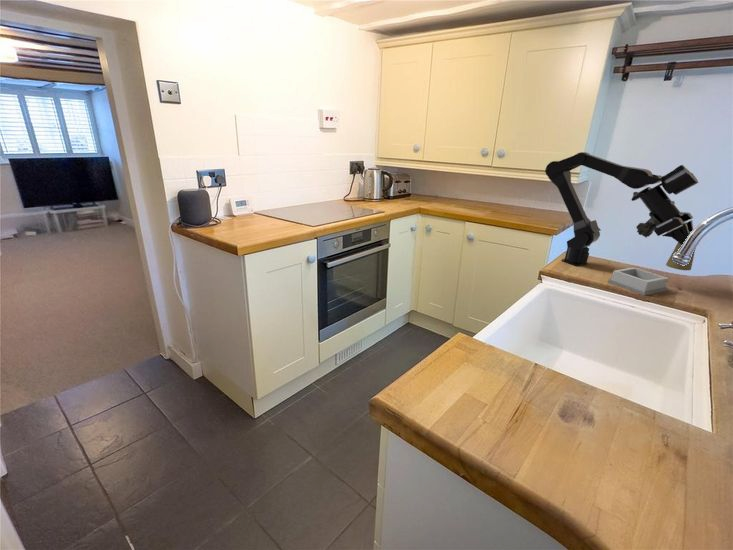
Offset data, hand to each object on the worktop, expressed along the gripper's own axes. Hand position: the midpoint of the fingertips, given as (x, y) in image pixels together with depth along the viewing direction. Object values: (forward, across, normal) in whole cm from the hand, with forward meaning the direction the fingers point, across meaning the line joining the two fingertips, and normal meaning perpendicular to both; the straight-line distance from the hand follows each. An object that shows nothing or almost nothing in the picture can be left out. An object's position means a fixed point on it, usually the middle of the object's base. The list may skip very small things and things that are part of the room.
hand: (692, 247), depth 105 cm
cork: (+4, 0, -6) cm, 7 cm away
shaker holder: (+4, +9, -15) cm, 18 cm away
